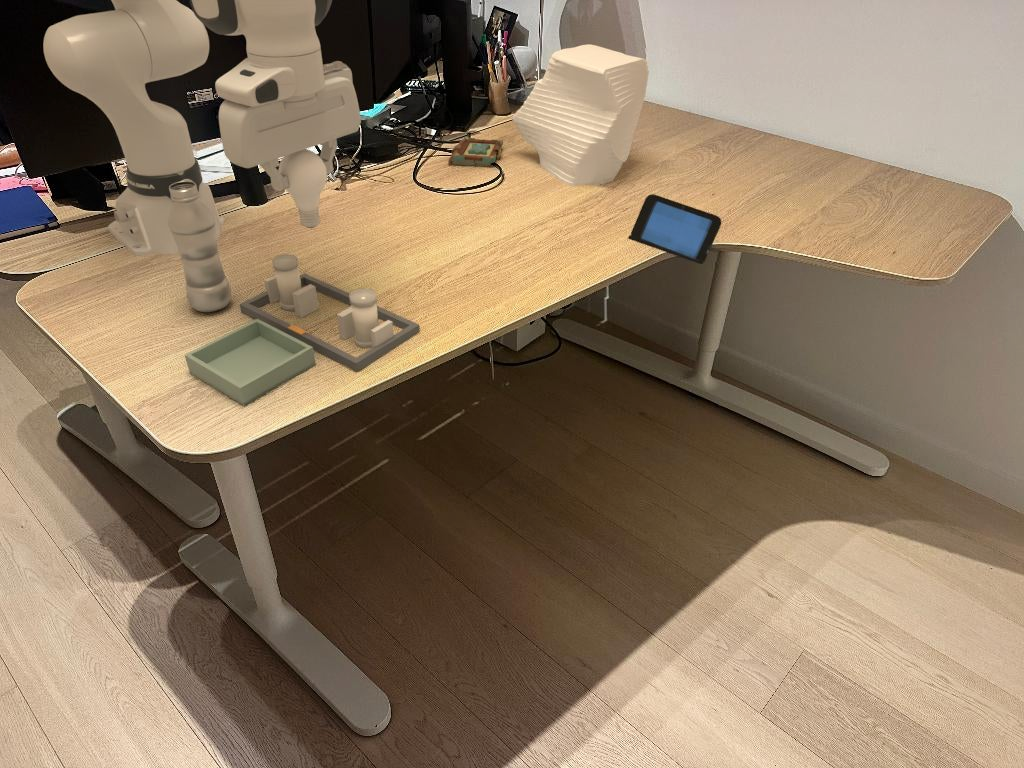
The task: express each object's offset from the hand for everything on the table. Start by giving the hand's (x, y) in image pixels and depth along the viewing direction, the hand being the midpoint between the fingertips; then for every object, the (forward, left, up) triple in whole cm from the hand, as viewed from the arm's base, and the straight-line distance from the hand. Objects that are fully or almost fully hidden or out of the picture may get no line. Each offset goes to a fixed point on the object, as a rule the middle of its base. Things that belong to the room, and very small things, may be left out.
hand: (303, 180), depth 101 cm
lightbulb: (0, 0, -7) cm, 7 cm away
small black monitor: (+30, +51, -24) cm, 64 cm away
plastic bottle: (-18, -8, -23) cm, 30 cm away
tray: (+1, -14, -23) cm, 27 cm away
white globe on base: (-8, +1, -23) cm, 25 cm away
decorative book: (-24, +68, -24) cm, 76 cm away
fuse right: (+9, +1, -23) cm, 25 cm away
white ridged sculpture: (-4, +79, -23) cm, 82 cm away
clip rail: (0, +1, -23) cm, 23 cm away
